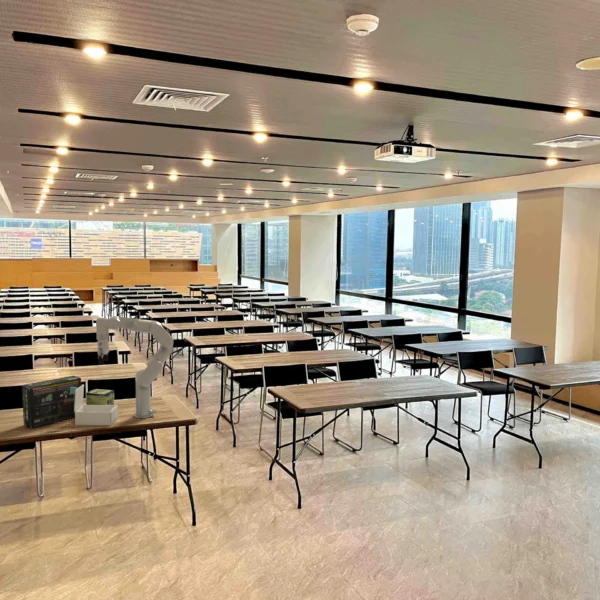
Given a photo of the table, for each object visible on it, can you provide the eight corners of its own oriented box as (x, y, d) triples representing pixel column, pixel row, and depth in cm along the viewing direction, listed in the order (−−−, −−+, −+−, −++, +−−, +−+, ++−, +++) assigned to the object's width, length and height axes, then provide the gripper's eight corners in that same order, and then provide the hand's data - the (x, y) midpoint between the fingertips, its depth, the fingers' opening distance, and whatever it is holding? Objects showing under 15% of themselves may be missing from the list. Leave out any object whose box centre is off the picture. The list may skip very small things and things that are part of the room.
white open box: (118, 418, 380) (118, 405, 379) (111, 425, 364) (111, 412, 363) (83, 417, 379) (83, 404, 378) (75, 425, 363) (74, 411, 362)
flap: (84, 384, 376) (74, 383, 375) (76, 390, 361) (66, 389, 361) (82, 404, 377) (73, 404, 377) (74, 411, 362) (65, 410, 362)
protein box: (106, 416, 382) (106, 394, 381) (85, 414, 385) (85, 392, 384) (114, 412, 393) (114, 390, 391) (94, 410, 396) (94, 388, 394)
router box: (75, 413, 388) (74, 375, 385) (83, 417, 381) (82, 377, 378) (21, 425, 361) (20, 384, 358) (29, 429, 354) (28, 387, 351)
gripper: (104, 339, 363) (104, 365, 365) (112, 334, 380) (112, 359, 382) (92, 339, 363) (93, 365, 365) (101, 334, 380) (101, 359, 382)
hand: (103, 362), depth 373 cm, fingers open, 9 cm apart
